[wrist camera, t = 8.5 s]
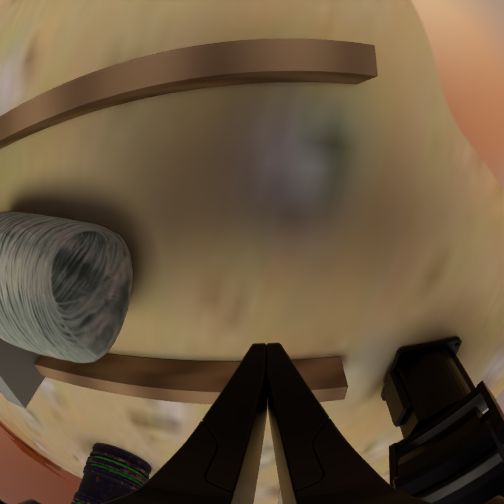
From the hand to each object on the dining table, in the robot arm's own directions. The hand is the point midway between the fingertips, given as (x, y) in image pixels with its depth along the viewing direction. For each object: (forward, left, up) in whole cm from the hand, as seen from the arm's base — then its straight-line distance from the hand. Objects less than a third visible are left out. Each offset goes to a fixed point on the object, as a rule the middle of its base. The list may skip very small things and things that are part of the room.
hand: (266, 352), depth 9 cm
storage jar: (+23, +34, -9) cm, 42 cm away
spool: (+14, 0, -9) cm, 17 cm away
